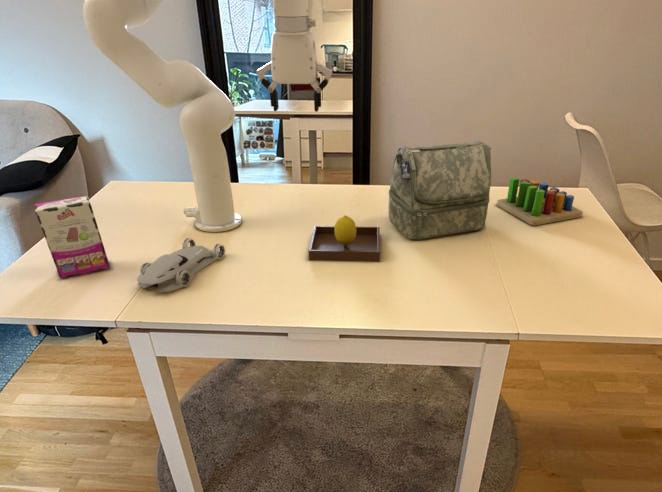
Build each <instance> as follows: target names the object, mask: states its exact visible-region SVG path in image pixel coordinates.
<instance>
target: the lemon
mask: <svg viewBox="0 0 662 492" xmlns="http://www.w3.org/2000/svg"><path fill="white" fill-rule="evenodd" d="M334 226H335V228H334V233H335V237H336V239H337V241H338V242H339V243H341V244H343V245H344V246H347V245H348V244H350V243H352V242H353V241H354V239H355V237H356V227H357V225H356V222H355V221H354V219H353V218H352V217H351V216H348V215H346V214H344V215H343V216H341V217H339V218H337V220H336V222H335V224H334Z"/></svg>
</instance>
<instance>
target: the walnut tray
mask: <svg viewBox="0 0 662 492" xmlns="http://www.w3.org/2000/svg"><path fill="white" fill-rule="evenodd" d="M334 228H335V225H314V226H313V230H312V235H311V239H310V243H309V248H308V261H325V262H327V261H331V262H376V263H377V262H380V261H381V260H380V259H381V258H380V257H381V233H380V231H381V230H380V229H381V227H380V226H356V237H355V239H354V241H353V242H352V243H350V244H348V245H347V246H344V245H343V244H341V243H339V242H338V241H337V239H336V237H335V233H334Z"/></svg>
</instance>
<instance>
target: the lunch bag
mask: <svg viewBox="0 0 662 492" xmlns="http://www.w3.org/2000/svg"><path fill="white" fill-rule="evenodd" d="M491 149H492V147H490V146H489V145H488V144H487V143H485V142H483V141H481V140H476V141H470V142H463V143H452V144H451V143H449V144H441V145H433V146H415V147H411V146H406V145H402V146H400V147H399V148H398V149H397V150H395V151H394V154H395V156H394V161H393V165H392V173H391V179H390V184H389V190H388V209H387V210H388V214H387V215H388V219H389V221H390V223H391V224H392V225H393V226H394V227H395V228H396V229H397V230H398V231H399V232H400V234H402V235H403V236H404V237H405V238H407V239H409V240H424V239H431V238H437V237H444V236H449V235H455V234H461V233H468V232H473V231H478V230H481V229H483V228H485V226H486V221H487V215H488V210H489V203H490V199H491V197H490V192H491V185H492V155H491V154H492V152H491Z"/></svg>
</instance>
